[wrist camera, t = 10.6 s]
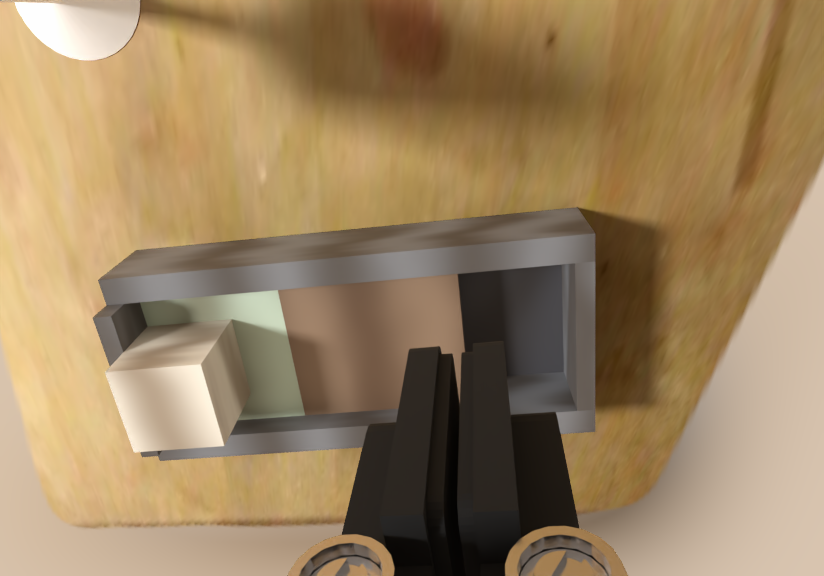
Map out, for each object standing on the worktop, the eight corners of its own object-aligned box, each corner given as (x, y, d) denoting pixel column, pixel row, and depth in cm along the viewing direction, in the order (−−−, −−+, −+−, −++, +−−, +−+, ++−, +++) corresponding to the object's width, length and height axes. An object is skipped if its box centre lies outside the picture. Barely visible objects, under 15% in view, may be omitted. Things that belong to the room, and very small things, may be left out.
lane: (577, 207, 35) (602, 243, 30) (579, 388, 40) (601, 448, 35) (135, 250, 38) (83, 291, 32) (187, 417, 42) (149, 477, 37)
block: (231, 319, 36) (200, 364, 31) (250, 393, 38) (224, 446, 33) (147, 326, 36) (104, 372, 32) (170, 399, 38) (134, 452, 34)
